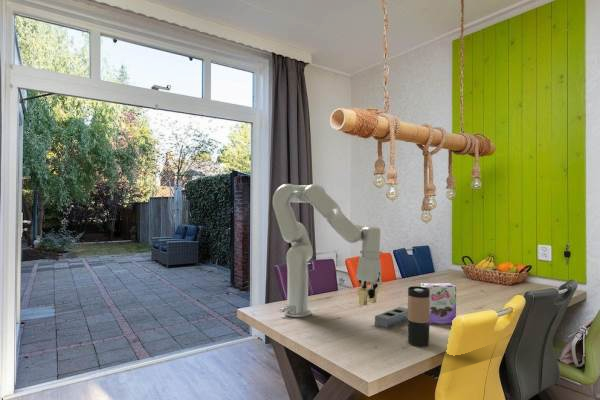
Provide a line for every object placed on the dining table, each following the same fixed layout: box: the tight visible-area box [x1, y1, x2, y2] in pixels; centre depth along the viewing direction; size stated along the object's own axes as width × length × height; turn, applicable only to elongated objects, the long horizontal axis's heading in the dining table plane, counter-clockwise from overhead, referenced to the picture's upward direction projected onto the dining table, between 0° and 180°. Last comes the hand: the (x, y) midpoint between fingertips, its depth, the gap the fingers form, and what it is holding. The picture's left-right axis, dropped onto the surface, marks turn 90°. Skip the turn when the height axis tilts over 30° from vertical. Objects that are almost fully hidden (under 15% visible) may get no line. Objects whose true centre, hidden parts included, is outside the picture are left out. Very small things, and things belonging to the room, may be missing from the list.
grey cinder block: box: [374, 306, 408, 330], centre depth 157 cm, size 20×6×4 cm, turn 135°
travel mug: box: [407, 285, 431, 348], centre depth 133 cm, size 8×8×20 cm
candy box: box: [419, 282, 457, 325], centre depth 157 cm, size 14×6×16 cm, turn 94°
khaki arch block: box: [357, 285, 379, 307], centre depth 159 cm, size 11×3×6 cm, turn 135°
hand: (368, 296), depth 159 cm, fingers closed on khaki arch block, 3 cm apart
